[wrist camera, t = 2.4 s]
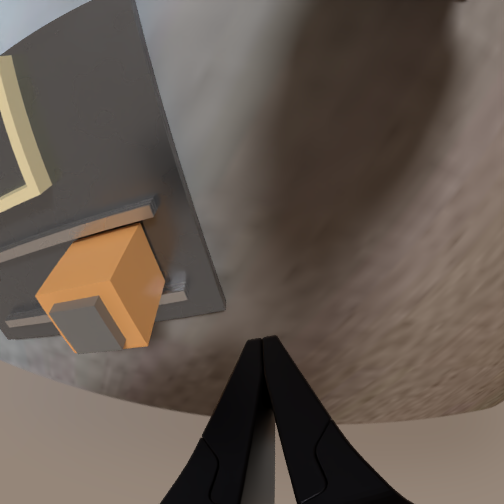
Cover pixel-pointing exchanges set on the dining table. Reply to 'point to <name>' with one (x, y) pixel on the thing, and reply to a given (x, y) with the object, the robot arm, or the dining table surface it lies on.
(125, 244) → the toggle
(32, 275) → the panel
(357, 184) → the dining table surface
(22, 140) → the socket
